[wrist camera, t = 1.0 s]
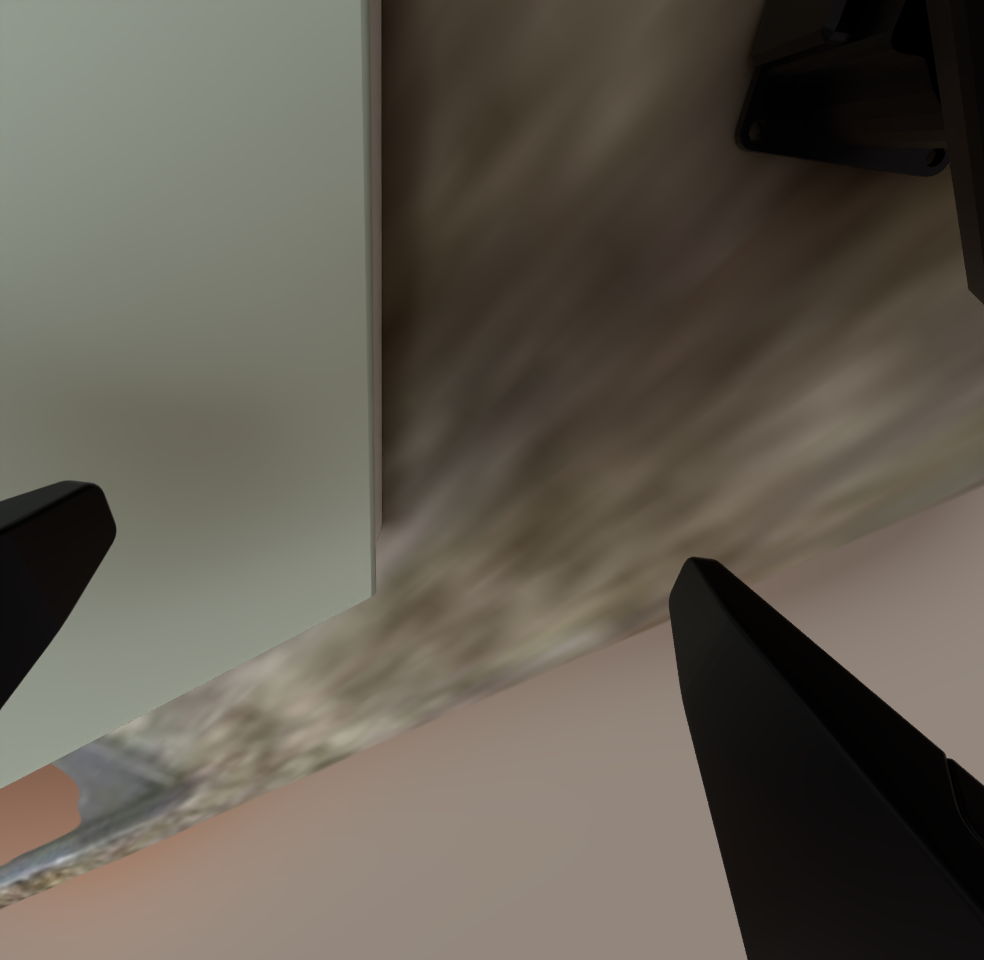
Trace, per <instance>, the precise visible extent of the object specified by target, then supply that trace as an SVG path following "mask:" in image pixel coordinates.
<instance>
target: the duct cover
mask: <svg viewBox="0 0 984 960" xmlns="http://www.w3.org/2000/svg"><path fill="white" fill-rule="evenodd" d="M65 480H74V481H82V482H90V483H94V484H97V485H98V486H100V487H101V488H102V490H103V492H104V494H105V496H106V499H107V502H108V504H109V507H110V510H111V512H112V515H113V518H114V520H115V523H116V528H117V532H116V537H115V540H114V542H113V544H112V546H111V547H110V549H109V551H108V552H107V554H106V556H105V557H104V559H103V561H102V562H101V564H100V566H99V567H98V569H97V571H96V572H95V574H94V575H93V577H92V579H91V580H90V582H89V584H88V585H87V587H86V589H85V590H84V592H83V594H82V595H81V597H80V599H79V600H78V602H77V604H76V605H75V607H74V609H73V610H72V612H71V614H70V615H69V617H68V618H67V620H66V621H65V623H64V625H63V626H62V628H61V629H60V631H59V632H58V633H57V635H56V636H55V638H54V639H53V640H52V642H51V643H50V645H49V646H48V647H47V649H46V650H45V651H44V653H43V654H42V655H41V657H40V658H39V659H38V661H37V662H36V663H35V665H34V666H33V667H32V669H31V670H30V671H29V673H28V674H27V675H26V677H25V678H24V679H23V681H22V682H21V683H20V685H19V686H18V687H17V689H16V690H15V691H14V693H13V694H12V695H11V697H10V698H9V699H8V701H7V702H6V703H5V705H4V706H3V707H2V709H1V710H0V789H1V788H3V787H5V786H7V785H9V784H11V783H13V782H15V781H16V780H18V779H20V778H22V777H24V776H26V775H28V774H30V773H32V772H34V771H36V770H38V769H40V768H41V767H44V766H45V765H47V764H49V763H51V762H53V761H55V760H57V759H59V758H61V757H63V756H65V755H67V754H69V753H71V752H73V751H74V750H76V749H78V748H80V747H82V746H84V745H86V744H88V743H90V742H92V741H94V740H96V739H98V738H100V737H102V736H103V735H105V734H107V733H109V732H111V731H113V730H115V729H117V728H119V727H121V726H123V725H125V724H127V723H129V722H130V721H132V720H134V719H136V718H138V717H140V716H142V715H144V714H146V713H148V712H150V711H152V710H154V709H156V708H158V707H159V706H161V705H163V704H165V703H167V702H169V701H171V700H173V699H175V698H177V697H179V696H181V695H183V694H185V693H187V692H188V691H190V690H192V689H194V688H196V687H198V686H200V685H202V684H204V683H206V682H208V681H210V680H212V679H214V678H216V677H217V676H219V675H221V674H223V673H225V672H227V671H229V670H231V669H233V668H235V667H237V666H239V665H241V664H243V663H245V662H246V661H248V660H250V659H252V658H254V657H256V656H258V655H260V654H262V653H264V652H266V651H268V650H270V649H272V648H274V647H275V646H277V645H279V644H281V643H283V642H285V641H287V640H289V639H291V638H293V637H295V636H297V635H299V634H301V633H303V632H304V631H306V630H308V629H310V628H312V627H314V626H316V625H318V624H320V623H322V622H324V621H326V620H328V619H330V618H331V617H333V616H335V615H337V614H339V613H341V612H343V611H345V610H347V609H349V608H351V607H353V606H355V605H357V604H359V603H360V602H362V601H364V600H366V599H368V598H370V597H372V596H373V595H374V594H375V593H376V543H375V449H374V355H373V260H372V166H371V72H370V0H0V501H2V500H5V499H8V498H11V497H14V496H17V495H20V494H24V493H27V492H30V491H33V490H36V489H39V488H42V487H45V486H48V485H51V484H54V483H57V482H60V481H65Z"/></svg>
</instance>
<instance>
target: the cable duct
mask: <svg viewBox="0 0 984 960" xmlns="http://www.w3.org/2000/svg"><path fill="white" fill-rule="evenodd" d="M370 72H371V166H372V260H373V355H374V449H375V543H377V540H378V537H379V534H380V531H381V528H382V180H381V0H370Z"/></svg>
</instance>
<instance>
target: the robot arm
mask: <svg viewBox="0 0 984 960" xmlns="http://www.w3.org/2000/svg"><path fill="white" fill-rule="evenodd" d="M751 58H752V62H753V65H754V66H755V67H756V69H755V72H754V75H753V78H752V81H751V84H750V87H749V91H748V94H747V97H746V100H745V103H744V106H743V109H742V112H741V115H740V119H739V122H738V125H737V128H736V134H735V139H736V144H737V145H738V146H739V147H740V149H743V150H745V151H751V152H758V153H764V154H771V155H778V156H784V157H791V158H798V159H805V160H811V161H818V162H825V163H832V164H838V165H845V166H852V167H859V168H865V169H872V170H879V171H886V172H892V173H899V174H906V175H913V176H923V177H927V176H933V175H936V174H938V173H940V172H941V171H942V170H943V169H944V168H946V166H947V165H948V164H949V162H950V168H951V175H952V182H953V188H954V195H955V202H956V209H957V215H958V222H959V229H960V235H961V242H962V249H963V256H964V262H965V269H966V276H967V282H968V289H969V290H970V291H971V292H972V293H973V294H974V295H975V296H976V297H977V298H978V299H979V300H980V301H981V302H982V303H983V304H984V0H767V3H766V7H765V10H764V13H763V16H762V19H761V23H760V26H759V29H758V32H757V35H756V39H755V42H754V45H753V48H752V51H751ZM756 121H758V122H759V123H760V125H761V133H760V134H759V136H758V138H756V139H755V140H754V141H753V140H751V139H750V137H749V129H750V127H751V125H752V124H753V123H754V122H756ZM933 149H935V152H936V154H935V157H934V159H933V161H932V162H931V163H930V164H929V165H927V164H926V158H927V156H928V154H929V153H930V152H931V151H932V150H933ZM116 532H117V528H116V523H115V520H114V518H113V515H112V512H111V510H110V507H109V504H108V502H107V499H106V496H105V494H104V492H103V490H102V488H101V487H100V486H98V485H97V484H94V483H90V482H82V481H74V480H65V481H60V482H57V483H54V484H51V485H48V486H45V487H42V488H39V489H36V490H33V491H30V492H27V493H24V494H20V495H17V496H14V497H11V498H8V499H5V500H2V501H0V710H1V709H2V707H3V706H4V705H5V703H6V702H7V701H8V699H9V698H10V697H11V695H12V694H13V693H14V691H15V690H16V689H17V687H18V686H19V685H20V683H21V682H22V681H23V679H24V678H25V677H26V675H27V674H28V673H29V671H30V670H31V669H32V667H33V666H34V665H35V663H36V662H37V661H38V659H39V658H40V657H41V655H42V654H43V653H44V651H45V650H46V649H47V647H48V646H49V645H50V643H51V642H52V640H53V639H54V638H55V636H56V635H57V633H58V632H59V631H60V629H61V628H62V626H63V625H64V623H65V621H66V620H67V618H68V617H69V615H70V614H71V612H72V610H73V609H74V607H75V605H76V604H77V602H78V600H79V599H80V597H81V595H82V594H83V592H84V590H85V589H86V587H87V585H88V584H89V582H90V580H91V579H92V577H93V575H94V574H95V572H96V571H97V569H98V567H99V566H100V564H101V562H102V561H103V559H104V557H105V556H106V554H107V552H108V551H109V549H110V547H111V546H112V544H113V542H114V540H115V537H116ZM669 611H670V618H671V625H672V633H673V639H674V647H675V655H676V661H677V669H678V676H679V683H680V689H681V694H682V700H683V705H684V709H685V714H686V718H687V722H688V725H689V730H690V734H691V737H692V741H693V745H694V749H695V753H696V757H697V761H698V765H699V769H700V773H701V777H702V781H703V785H704V788H705V792H706V797H707V801H708V805H709V809H710V813H711V817H712V820H713V824H714V828H715V832H716V836H717V840H718V844H719V848H720V852H721V856H722V860H723V864H724V868H725V872H726V876H727V880H728V883H729V888H730V891H731V896H732V899H733V903H734V907H735V911H736V915H737V919H738V923H739V927H740V931H741V935H742V939H743V943H744V947H745V951H746V955H747V959H748V960H984V785H983V784H981V783H980V782H979V781H978V780H977V779H975V778H974V777H973V776H972V775H971V774H970V773H968V772H967V771H966V770H965V769H964V768H962V767H961V766H960V765H959V764H958V763H957V762H955V761H954V760H953V759H950V758H946V755H945V753H944V752H943V751H942V750H941V749H940V748H939V747H937V746H936V745H935V744H934V743H933V742H931V741H930V740H929V739H928V738H927V737H926V736H924V735H923V734H922V733H921V732H920V731H918V730H917V729H916V728H915V727H914V726H913V725H911V724H910V723H909V722H908V721H907V720H905V719H904V718H903V717H902V716H901V715H900V714H898V713H897V712H896V711H894V709H892V708H891V707H890V706H889V705H888V704H886V703H885V702H884V701H883V700H882V699H881V698H879V697H878V696H877V695H876V694H875V693H873V692H872V691H871V690H870V689H869V688H868V687H866V686H865V685H864V684H863V683H862V682H860V681H859V680H858V679H857V678H856V677H855V676H853V675H852V674H851V673H850V672H849V671H847V670H846V669H845V668H844V667H843V666H842V665H840V664H839V663H838V662H837V661H836V660H834V659H833V658H832V657H831V656H830V655H828V654H827V653H826V652H825V651H824V650H822V649H821V648H820V647H819V646H818V645H817V644H815V643H814V642H813V641H812V640H811V639H810V638H808V637H807V636H806V635H805V634H804V633H802V632H801V631H800V630H799V629H798V628H797V627H795V626H794V625H793V624H792V623H791V622H789V621H788V620H787V619H786V618H785V617H783V616H782V615H781V614H780V613H779V612H777V611H776V610H775V609H774V608H773V607H772V606H770V605H769V604H768V603H767V602H766V601H765V600H763V599H762V598H761V597H760V596H759V595H757V594H756V593H755V592H754V591H753V590H751V589H750V588H749V587H748V586H747V585H746V584H744V583H743V582H742V581H741V580H740V579H739V578H737V577H736V576H735V575H734V574H733V573H731V572H730V571H729V570H728V569H727V568H726V567H724V566H723V565H722V564H721V563H719V562H718V561H716V560H714V559H708V558H700V557H690V558H688V559H687V560H686V561H685V563H684V565H683V567H682V569H681V571H680V573H679V575H678V578H677V580H676V582H675V584H674V586H673V588H672V591H671V593H670V597H669Z"/></svg>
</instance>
